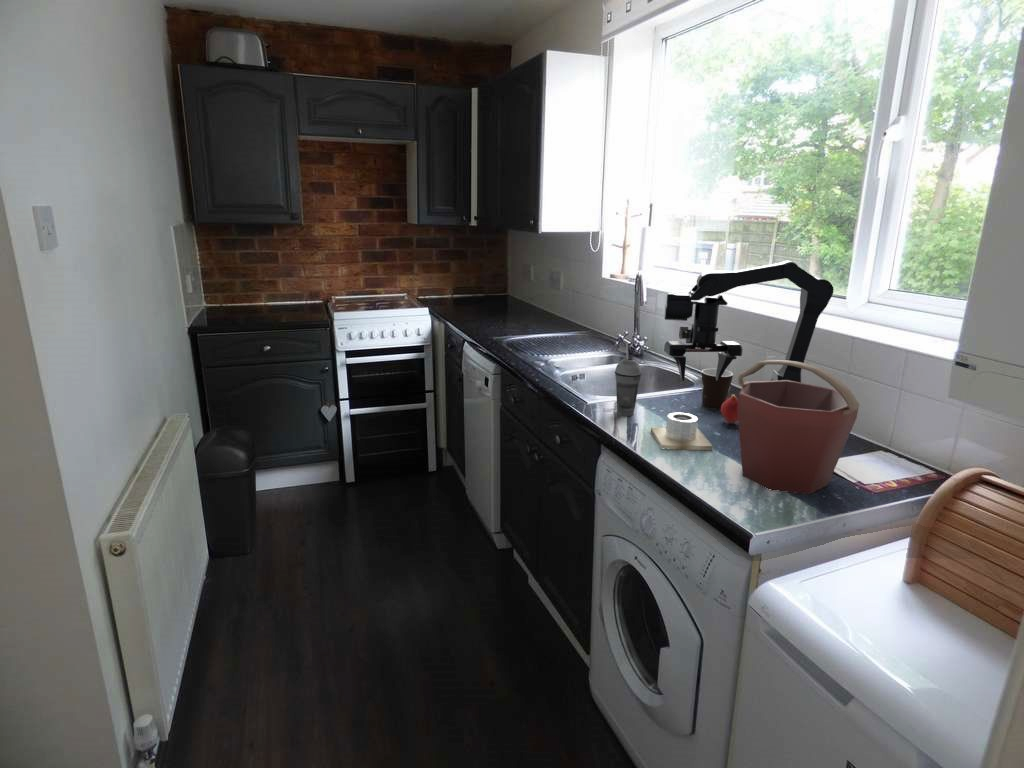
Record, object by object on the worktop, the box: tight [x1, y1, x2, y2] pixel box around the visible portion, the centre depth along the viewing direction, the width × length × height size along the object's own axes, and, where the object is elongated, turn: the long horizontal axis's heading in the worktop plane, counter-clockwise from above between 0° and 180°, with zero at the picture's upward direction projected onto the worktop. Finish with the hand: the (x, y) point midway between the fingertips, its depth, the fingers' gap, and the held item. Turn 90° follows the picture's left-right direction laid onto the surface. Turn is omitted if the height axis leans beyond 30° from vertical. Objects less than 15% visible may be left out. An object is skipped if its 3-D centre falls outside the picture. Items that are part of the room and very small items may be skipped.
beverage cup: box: [614, 341, 642, 417], centre depth 170 cm, size 7×7×20 cm
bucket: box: [737, 359, 860, 495], centre depth 131 cm, size 24×22×25 cm
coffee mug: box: [701, 368, 734, 410], centre depth 180 cm, size 12×9×10 cm
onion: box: [720, 394, 738, 425], centre depth 165 cm, size 6×6×8 cm
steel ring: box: [665, 412, 699, 442], centre depth 153 cm, size 7×7×5 cm
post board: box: [650, 417, 713, 451], centre depth 153 cm, size 12×12×6 cm
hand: (699, 380), depth 162 cm, fingers open, 9 cm apart
